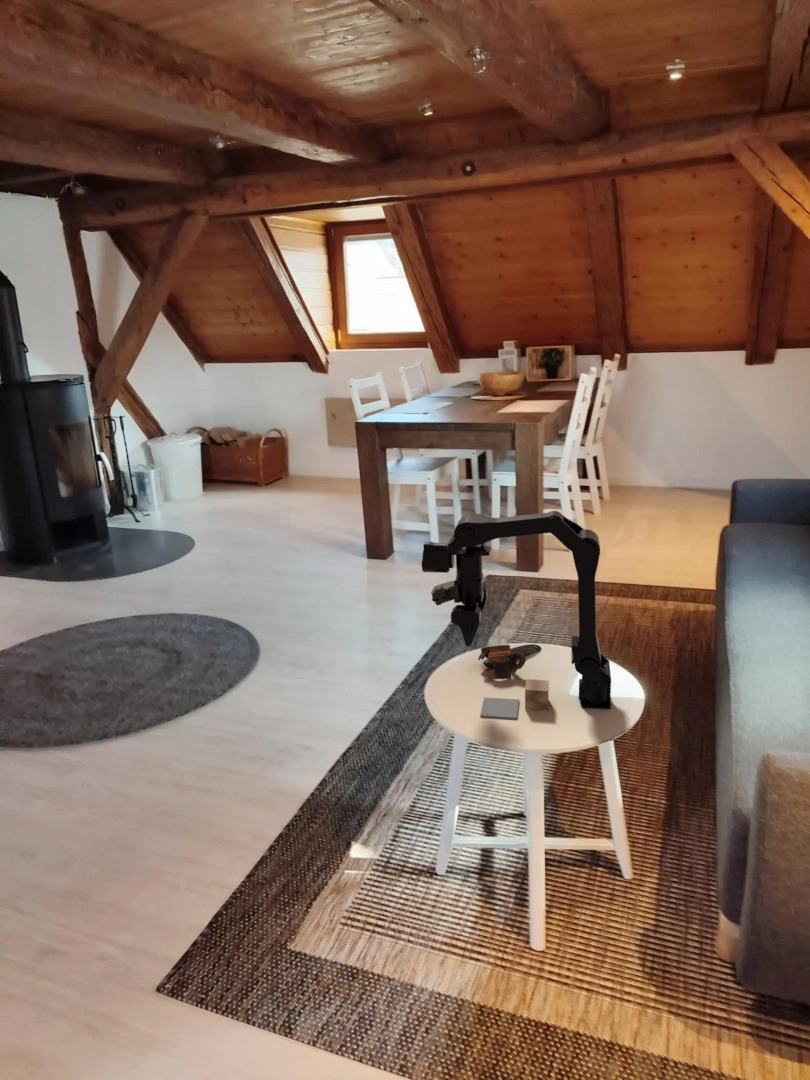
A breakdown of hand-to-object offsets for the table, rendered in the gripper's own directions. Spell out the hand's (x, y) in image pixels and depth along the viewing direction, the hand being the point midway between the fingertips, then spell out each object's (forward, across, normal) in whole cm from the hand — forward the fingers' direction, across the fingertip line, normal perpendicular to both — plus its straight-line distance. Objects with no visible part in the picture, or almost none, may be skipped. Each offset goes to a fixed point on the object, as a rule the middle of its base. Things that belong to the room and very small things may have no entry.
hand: (470, 637), depth 177 cm
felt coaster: (+15, +6, +7) cm, 17 cm away
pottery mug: (+15, -12, +6) cm, 20 cm away
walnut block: (+15, +3, +15) cm, 21 cm away
